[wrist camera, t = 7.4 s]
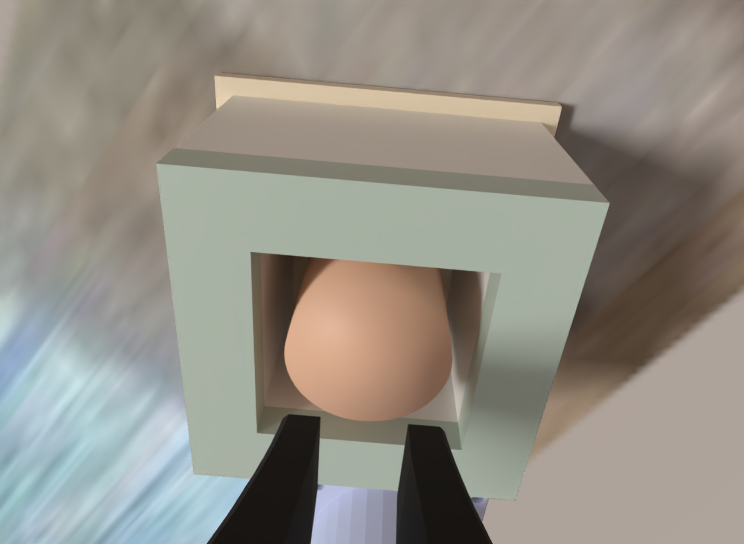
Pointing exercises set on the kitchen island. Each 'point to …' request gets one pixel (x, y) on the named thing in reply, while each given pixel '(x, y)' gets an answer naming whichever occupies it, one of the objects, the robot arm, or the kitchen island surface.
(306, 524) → the robot arm
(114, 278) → the kitchen island surface
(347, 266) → the peg
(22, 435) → the kitchen island surface
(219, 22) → the kitchen island surface
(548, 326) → the socket
